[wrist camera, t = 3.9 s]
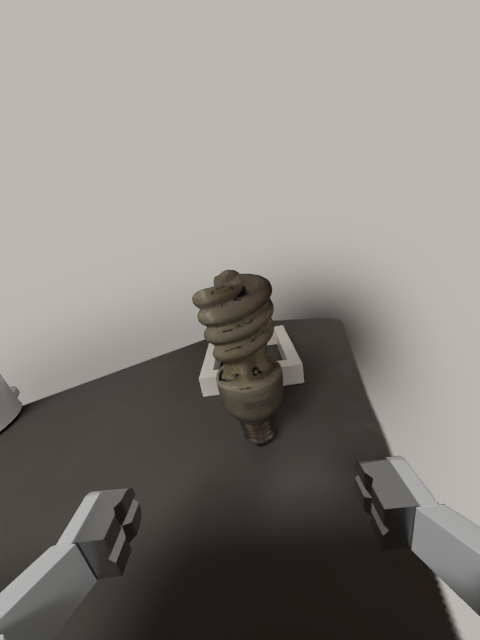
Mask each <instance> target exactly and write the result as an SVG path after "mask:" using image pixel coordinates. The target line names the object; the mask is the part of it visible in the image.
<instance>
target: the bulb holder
mask: <svg viewBox="0 0 480 640" xmlns="http://www.w3.org/2000/svg"><path fill="white" fill-rule="evenodd" d="M274 344H277V346H278V349H279V352H280V354H281V357H282V360H281V361H278V362H279V363H280V365H281V368H282V374H283V386H285V385H293V384H300V383H304V374H303V364H302V362H301V360H300V358H299V356H298V354H297V352H296V350H295V348H294V346H293V344H292V342H291V340H290V338H289V336H288V334H287V333H286V331H285V329H284V327H283V325H281V326H275V327H274V333H273V335H272V337H271V339H270V340H269V341H268V343H267V345H274ZM213 350H214V345H213V344H210V343H209V346H208V349H207V353H206V356H205V359H204V363H203V366H202V370H201V373H200V377H199V382H200V386H201V390H202V394H203V397H206V396H213V395H220V394H219V390H218V386H217V382H216V375H217V372H218V370H219V369H220V364H221V362H220V361H218V360H216V359H215V358H214V356H213Z"/></svg>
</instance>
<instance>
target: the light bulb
mask: <svg viewBox="0 0 480 640" xmlns="http://www.w3.org/2000/svg"><path fill="white" fill-rule="evenodd" d="M271 293H272V287H271V284H270V282H269V281H268V280H267V279H266V278H264V277H262V276H259V275H254V274H239V273H238V272H237V271H234V270H225V271H224V272H222V273H221V274H220V275H218V276H216V277H215V278H214V287H211V288H206V289H203V290H200V291H198V292H196V293H195V294H194V295H193V298H192V300H193V304H194V305H195V306H196V307H198V308H199V309H200V311H199V313H198V321H199V322H200V323H201V324H203V325H205V326H207V329H206V331H205V332H204V337H205V340H206V341H207V342H209V343H210V344H213V345H214V350H213V356H214V358H215V359H216V360H218V361H220V362H223V363H224V365H223V366H222V367H221V368H220V369H219V370H218V372H217V375H216V382H217V386H218V390H219V394H220V397H221V400H222V403H223V405H224V407H225V409H226V410H227V412H228V413H229V414H231V415H232V416H233V417H235V418H237V419H238V420H239V421H240V422H241V425H242V428H243V431H244V437H245V438H246V440H247V441H249V442H253V443H256V444H257V446H263V445H266V444H267V443H269V442H270V440H271V439H272V438H273V437H274V436H275V433H276V426H275V421H274V414H275V412H276V411H277V410H278V409H279V407H280V406H281V404H282V401H283V398H284V386H283V374H282V368H281V365H280V363H279V362H278V361H277V360H275V359H273V358H272V357H269V356H267V353H266V347H267V343H268V341H269V340H270V339H271V337H272V335H273V333H274V323H273V320H272V318H271V316H272V314H273V310H274V309H273V303H272V301H271V299H270V296H271Z"/></svg>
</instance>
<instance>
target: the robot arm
mask: <svg viewBox="0 0 480 640" xmlns="http://www.w3.org/2000/svg"><path fill="white" fill-rule="evenodd" d="M18 395H19V390H18V389H17V388H16V387H9V386H8V384H7V383H6V381H5V380H4V379H3V377H2V376H1V374H0V431H1V430H2V429H4V428H5V427H6V426H7V425H8V424H9V423H11V422H12V421H13V420H14V419H15V417H16V416H17V415H18V414H19V412H20V411H21V409H22V403H21V402H20V401H19V400H18V399H17V397H18ZM355 469H356V471H357V473H358V476H357V477H356V478H355V484H356V489H357V494H358V497H359V499H360V502H361V504H362V507H363V509H364V510H365V511H366V512H367V513H368V514H369V515H370V516H371V526H372V528H373V531H374V533H375V535H376V537H377V539H378V541H379V543H380V546H381V548H382V550H388V549H403V548H411V550H412V551H413V552H414V553H415V554H416V555H417V556H418V557H419V558H420V559H421V560H422V561H423V562H424V563H425V564H426V565H427V566H428V567H430V568H431V569H432V570H433V571H434V572H435V573H436V574H437V575H438V576H439V577H440V578H441V579H442V580H443V581H444V582H445V583H446V584H447V585H448V586H449V587H450V588H451V589H452V590H453V591H454V592H455V593H456V594H457V595H458V596H459V597H460V598H461V599H463V600H464V601H465V602H466V603H467V604H468V605H469V606H470V607H471V608H472V609H473V610H474V611H475V612H476V613H477V614H478V615H479V616H480V527H478V526H477V525H475V524H474V523H472V522H471V521H469V520H468V519H466V518H465V517H463V516H462V515H460V514H459V513H457V512H456V511H454V510H453V509H451V508H449V507H448V506H446V505H445V504H440V505H439V503H438V502H437V501H436V499H435V498H434V497H433V495H432V494H431V493H430V492H429V490H428V489H427V488H426V486H425V485H424V484H423V482H422V481H421V480H420V478H419V477H418V476H417V474H416V473H415V472H414V471H413V469H412V468H411V467H410V465H409V464H408V463H407V461H406V460H405V459H404V458H403V457H402V456H394V457H386V458H384V457H382V458H375V459H368V460H360V461H356V463H355ZM134 496H135V493H134V491H133V489H132V488H127V489H116V490H104V491H95V492H90V493H89V494H88V495H87V496H86V497H85V498H84V500H83V501H82V503H81V505H80V506H79V508H78V510H77V511H76V513H75V515H74V516H73V518H72V520H71V521H70V523H69V524H68V526H67V528H66V529H65V531H64V533H63V534H62V536H61V538H60V539H59V541H58V543H57V544H56V546H51V547H50V548H49V549H48V550H47V551H46V552H45V553H43V554H42V555H41V556H40V557H39V558H38V559H37V560H36V561H35V562H34V563H33V564H31V565H30V566H29V567H28V568H27V569H26V570H25V571H24V572H23V573H22V574H21V575H19V576H18V577H17V578H16V579H15V580H14V581H13V582H12V583H11V584H10V585H8V586H7V587H6V588H5V589H4V590H3V591H2V592H1V593H0V640H53V639H54V638H55V636H56V635H57V634H58V632H59V631H60V630H61V628H62V627H63V626H64V624H65V623H66V622H67V620H68V619H69V618H70V617H71V615H72V614H73V613H74V611H75V610H76V609H77V607H78V606H79V605H80V603H81V602H82V601H83V599H84V598H85V597H86V595H87V594H88V593H89V591H90V590H91V589H92V587H93V586H94V585H95V583H96V582H97V580H96V579H102V578H109V577H116V576H122V575H123V573H124V570H125V567H126V564H127V561H128V558H129V556H130V553H131V546H130V542H131V541H132V540H133V538H134V537H135V536H136V535H137V533H138V529H139V526H140V522H141V507H140V505H139V503H138V502H137V501H135V500H134Z"/></svg>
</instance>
